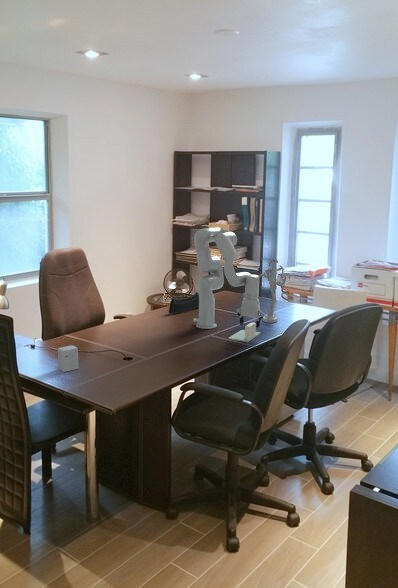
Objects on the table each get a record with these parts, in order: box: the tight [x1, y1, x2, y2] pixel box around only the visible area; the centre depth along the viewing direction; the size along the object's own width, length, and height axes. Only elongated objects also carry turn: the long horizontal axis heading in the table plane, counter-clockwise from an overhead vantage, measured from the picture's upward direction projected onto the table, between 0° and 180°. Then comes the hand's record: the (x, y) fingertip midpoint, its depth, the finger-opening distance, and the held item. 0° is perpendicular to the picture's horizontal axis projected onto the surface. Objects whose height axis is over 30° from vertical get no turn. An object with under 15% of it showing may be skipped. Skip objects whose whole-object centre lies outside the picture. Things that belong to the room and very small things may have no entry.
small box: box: [57, 344, 80, 373], centre depth 278 cm, size 8×6×10 cm
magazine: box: [168, 292, 199, 315], centre depth 396 cm, size 17×3×30 cm
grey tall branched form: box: [256, 258, 291, 324], centre depth 371 cm, size 28×24×40 cm
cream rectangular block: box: [244, 322, 257, 339], centre depth 334 cm, size 3×10×7 cm, turn 153°
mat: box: [227, 329, 262, 343], centre depth 337 cm, size 12×20×1 cm, turn 153°
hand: (249, 325), depth 334 cm, fingers open, 9 cm apart
